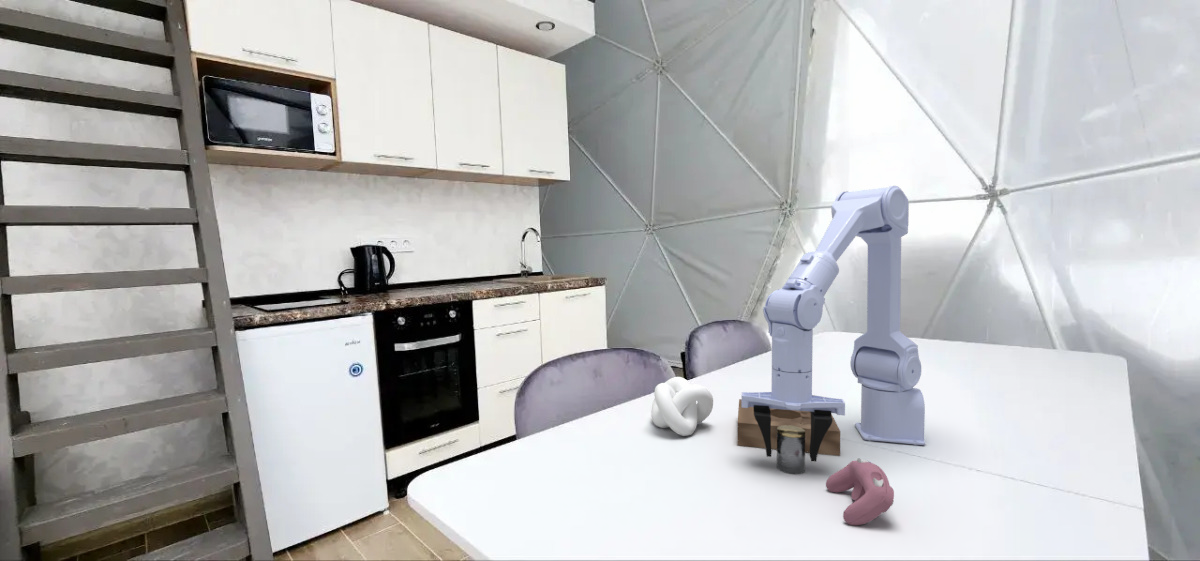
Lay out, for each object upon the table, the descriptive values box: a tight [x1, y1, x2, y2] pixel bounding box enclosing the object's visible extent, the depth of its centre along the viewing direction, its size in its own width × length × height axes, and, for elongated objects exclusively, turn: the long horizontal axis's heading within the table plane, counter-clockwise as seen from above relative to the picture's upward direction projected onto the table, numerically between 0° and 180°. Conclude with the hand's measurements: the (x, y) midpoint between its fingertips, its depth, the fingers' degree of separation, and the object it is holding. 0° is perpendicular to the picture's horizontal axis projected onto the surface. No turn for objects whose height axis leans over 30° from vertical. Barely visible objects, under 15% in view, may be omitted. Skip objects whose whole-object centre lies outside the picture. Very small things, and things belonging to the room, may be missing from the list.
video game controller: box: [825, 458, 895, 526], centre depth 63 cm, size 10×5×7 cm, turn 169°
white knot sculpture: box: [650, 376, 714, 437], centre depth 93 cm, size 11×12×9 cm
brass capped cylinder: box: [776, 425, 806, 475], centre depth 75 cm, size 4×4×6 cm
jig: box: [736, 398, 841, 457], centre depth 88 cm, size 16×14×4 cm
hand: (790, 456), depth 75 cm, fingers open, 6 cm apart
